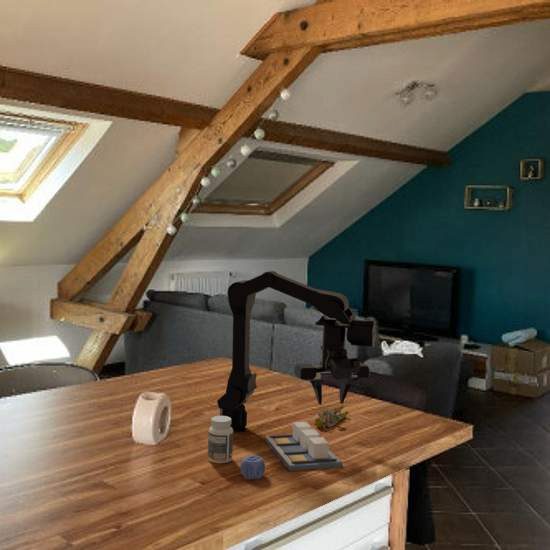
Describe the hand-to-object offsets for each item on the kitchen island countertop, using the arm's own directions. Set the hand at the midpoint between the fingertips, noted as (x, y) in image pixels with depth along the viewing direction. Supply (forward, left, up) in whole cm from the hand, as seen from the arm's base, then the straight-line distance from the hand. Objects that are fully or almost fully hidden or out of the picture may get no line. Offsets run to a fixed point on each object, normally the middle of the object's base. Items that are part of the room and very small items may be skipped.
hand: (330, 403), depth 174 cm
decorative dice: (-25, -18, -10) cm, 32 cm away
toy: (+7, +15, -10) cm, 19 cm away
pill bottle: (-30, -7, -10) cm, 32 cm away
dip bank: (-9, -6, -10) cm, 15 cm away
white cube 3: (-8, 0, -9) cm, 11 cm away
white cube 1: (-7, -12, -9) cm, 17 cm away
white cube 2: (-7, -6, -9) cm, 13 cm away
